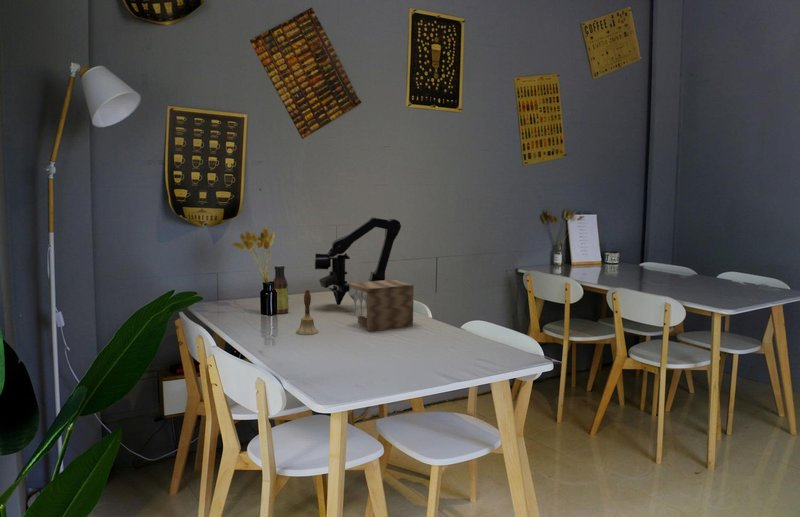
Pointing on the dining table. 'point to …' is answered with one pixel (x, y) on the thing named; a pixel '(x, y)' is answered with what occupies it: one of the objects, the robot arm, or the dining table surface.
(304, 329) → the hand bell
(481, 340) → the dining table surface
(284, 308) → the sauce bottle
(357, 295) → the goblet set
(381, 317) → the walnut cubby
